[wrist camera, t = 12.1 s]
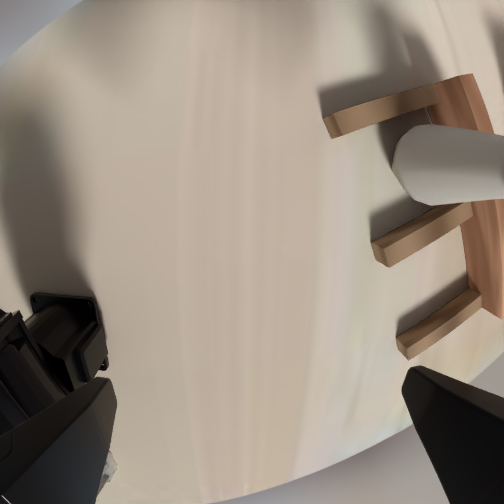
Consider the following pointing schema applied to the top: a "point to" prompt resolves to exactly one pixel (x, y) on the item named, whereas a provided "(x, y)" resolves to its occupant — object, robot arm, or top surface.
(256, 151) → the top surface
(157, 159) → the top surface
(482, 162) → the salt shaker
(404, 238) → the wooden letter e
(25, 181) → the top surface
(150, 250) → the top surface
